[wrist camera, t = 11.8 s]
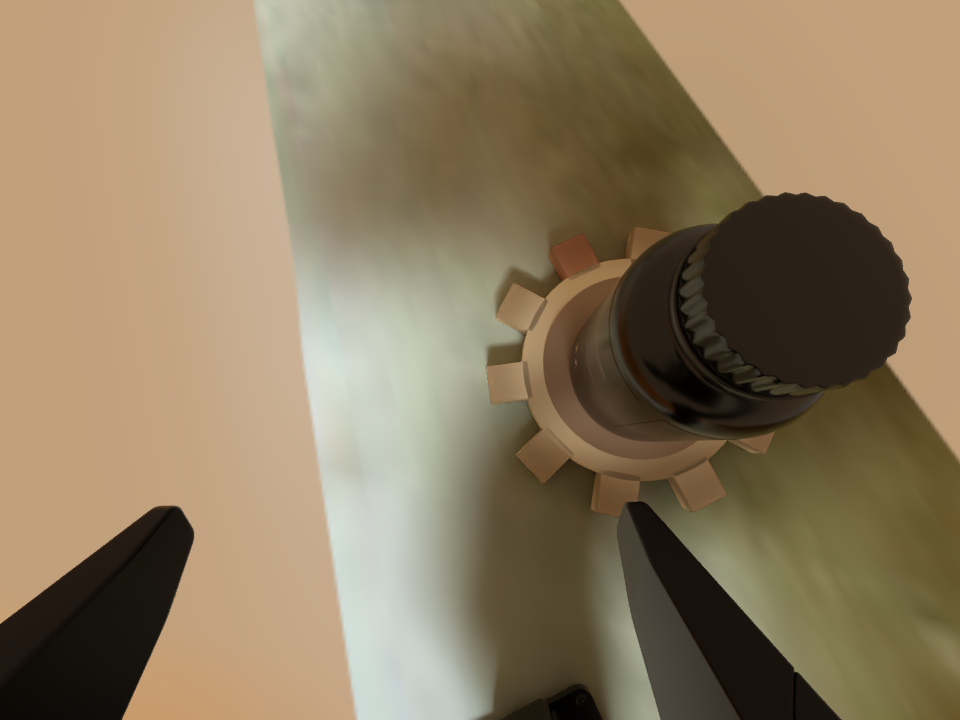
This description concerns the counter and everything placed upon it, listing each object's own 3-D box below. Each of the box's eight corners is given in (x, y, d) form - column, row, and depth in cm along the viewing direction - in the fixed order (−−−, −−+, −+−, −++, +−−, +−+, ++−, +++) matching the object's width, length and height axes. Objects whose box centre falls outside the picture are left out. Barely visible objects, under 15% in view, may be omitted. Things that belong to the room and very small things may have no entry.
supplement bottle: (713, 314, 23) (967, 176, 11) (700, 453, 21) (969, 469, 10) (575, 290, 23) (675, 130, 11) (555, 427, 22) (643, 412, 10)
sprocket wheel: (822, 436, 23) (844, 436, 22) (569, 566, 22) (574, 575, 21) (678, 197, 25) (690, 182, 24) (443, 304, 24) (440, 296, 23)
